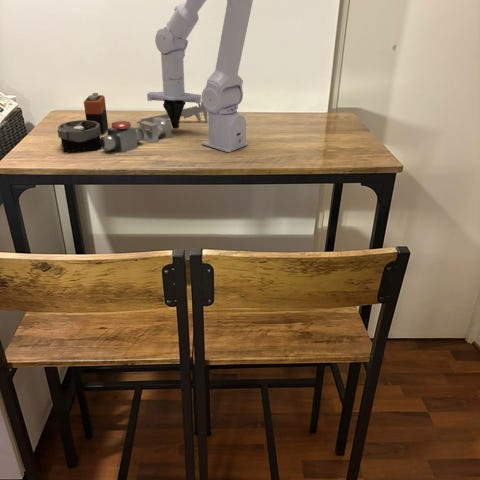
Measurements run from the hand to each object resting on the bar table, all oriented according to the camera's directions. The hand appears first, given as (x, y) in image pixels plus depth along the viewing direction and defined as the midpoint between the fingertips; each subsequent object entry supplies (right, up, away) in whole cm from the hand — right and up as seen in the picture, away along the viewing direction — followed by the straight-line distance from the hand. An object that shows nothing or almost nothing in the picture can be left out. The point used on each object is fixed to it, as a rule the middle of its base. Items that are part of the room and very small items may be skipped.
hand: (175, 127), depth 136 cm
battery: (-22, -1, 0) cm, 22 cm away
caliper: (-2, +3, +8) cm, 9 cm away
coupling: (-5, -4, -5) cm, 8 cm away
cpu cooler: (-23, -8, -11) cm, 26 cm away
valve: (-12, -8, -12) cm, 18 cm away
